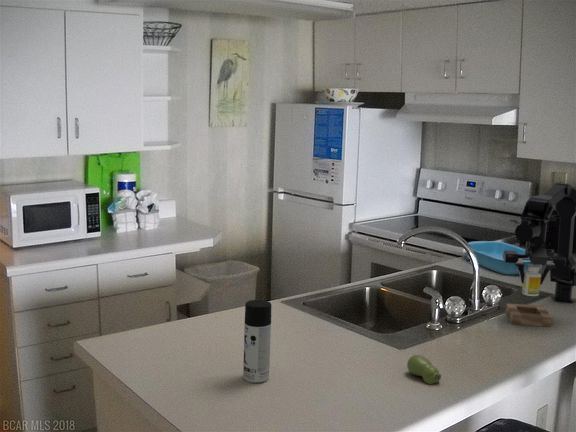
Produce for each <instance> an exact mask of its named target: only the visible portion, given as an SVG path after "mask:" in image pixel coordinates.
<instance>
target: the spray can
mask: <svg viewBox="0 0 576 432" xmlns="http://www.w3.org/2000/svg"><path fill="white" fill-rule="evenodd" d="M243 330H244V336H243V371H242V372H243V375H242V376H243V380H244V382H248V383H251V384H264V383H266V382H267V381H268V380H269V378H270V368H271V367H270V365H271V359H270V358H271V336H272V335H271V333H272V332H271V331H272V303H271V301H269V300H264V299H263V300H262V299H251V300H248V301H246V302H245V307H244V329H243Z"/></svg>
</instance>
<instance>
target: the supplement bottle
mask: <svg viewBox="0 0 576 432" xmlns="http://www.w3.org/2000/svg"><path fill="white" fill-rule="evenodd" d="M540 266H541V265H533V264H528V265H527V270H526V271H525V272H524V282H523V283H522V287H521V293H522V294H523V295H525V296H528V297H538V296H539V295H540V289H541V285H540V282H541V270H540V269H541V267H540Z"/></svg>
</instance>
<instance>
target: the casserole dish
mask: <svg viewBox="0 0 576 432" xmlns="http://www.w3.org/2000/svg"><path fill="white" fill-rule="evenodd" d="M467 243H468V244H469V245H470V246H471V248H472V250H473V251H474V253H475V255H476V257H477V260H478V263H479V264H478V265H479V266H481V267H484V268H486V269H487V270H491V271H493V272H495V273H497V274H502V275H509V276H510V275H519V271H518V268H517V266H516V265H514V263H507V262H505V261H504V259H503V252H504V251H505V250H509V251H516V252H517V253H518V254H525V250H526V248H525V249H524V248H521V247H518V246H516V245H513V244H510V243H507V242H503V241H495V240H492V241H491V240H490V241H488V240H479V241H478V240H477V241H469V242H467ZM464 253H465V256H466V258H467V259H468V260H469V258H468V255H467V254H466V252H465V251H464ZM528 258H529V257H528ZM523 264H524V272H525V271H526V270H527V265H528V264H531V263H530V261H529V260H523ZM536 265H537V264H536Z"/></svg>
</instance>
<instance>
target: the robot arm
mask: <svg viewBox="0 0 576 432" xmlns="http://www.w3.org/2000/svg"><path fill="white" fill-rule="evenodd" d="M554 206H555V208H554ZM554 209H555V211H556V213H557V214H558V216H559V227H558V228H559V229H558V242H557V245H558V246H557V253H556V252H555V250H554V249H547V247H546V246H547V245H546V240H547V239H546V238H547V237H546V236H547V229H548V222H549V221H550V218H551V217H552V214H553V211H554ZM575 218H576V189H575V188H574V187H573V186H572V185H571V184H569V183H566V182H565V183H563V182H555V183H554V184H553V186H552V187H551V188H550V189H548V190H547V191H546V192H544V193H543V194H541V195H533V196H531V197H529V198H528V200H526V202H525V204H524V207H523V211H522V213H521V215H520V219H521V220H522V221H521V223H520V224H519V225H517V226H516V228H515V229H514V234H515V237H516V239H517V240H518V241H520V242H522V243H525V254H518V253H517V252H516V251H509V250H505V251H504V252H503V259H504V261H505V262H507V263H514V265H516V266H517V268H518V271H519V274H518V275H519V279H520V283H521V284H523V282H524V264H523V260H529V261H530V263H531V264H533V265H536V264H537V265H539V266H541V267H540V269H541V270H540V273H541V282H540V286H541V285H542V284H543V283H544V281H545V280H546V277H547V275H548V273H550V275H549V277H550V279H549V281H550V282H553V283H555V287H554V288H555V289H554V294H551V297H552V298H553V300H554V301H555V302H564V303H565V302H566V303H575V300H574V299H573V297H572V295H573V287H576V261H575V258H574V257H573V248H574V247H573V245H574V231H575ZM528 257H529V258H528Z"/></svg>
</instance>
